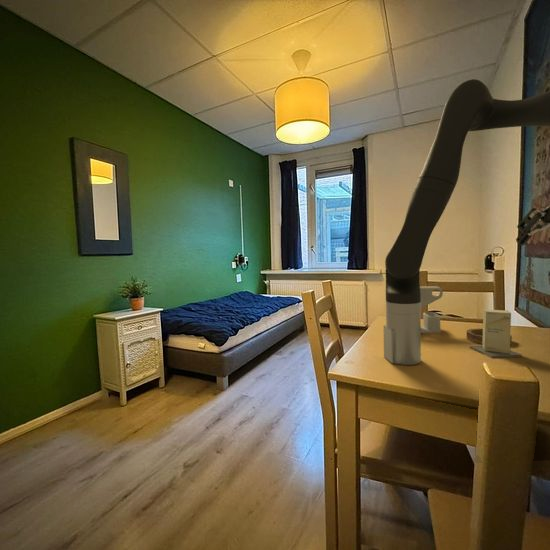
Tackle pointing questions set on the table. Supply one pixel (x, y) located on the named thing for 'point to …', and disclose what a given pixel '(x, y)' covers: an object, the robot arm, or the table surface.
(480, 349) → the slate coaster
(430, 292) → the phone holder
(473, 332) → the walnut ring stand
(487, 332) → the skincare box
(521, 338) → the table surface
